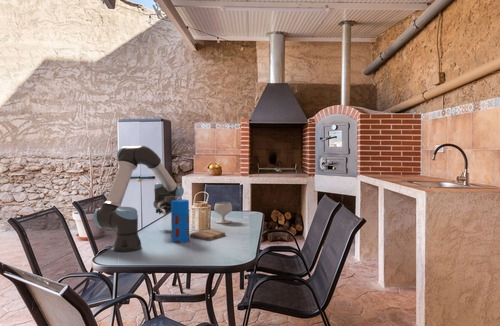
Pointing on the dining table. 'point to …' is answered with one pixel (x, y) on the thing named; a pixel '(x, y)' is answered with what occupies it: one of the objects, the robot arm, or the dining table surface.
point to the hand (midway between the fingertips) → (175, 211)
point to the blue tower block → (180, 220)
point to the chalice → (223, 210)
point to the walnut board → (207, 234)
